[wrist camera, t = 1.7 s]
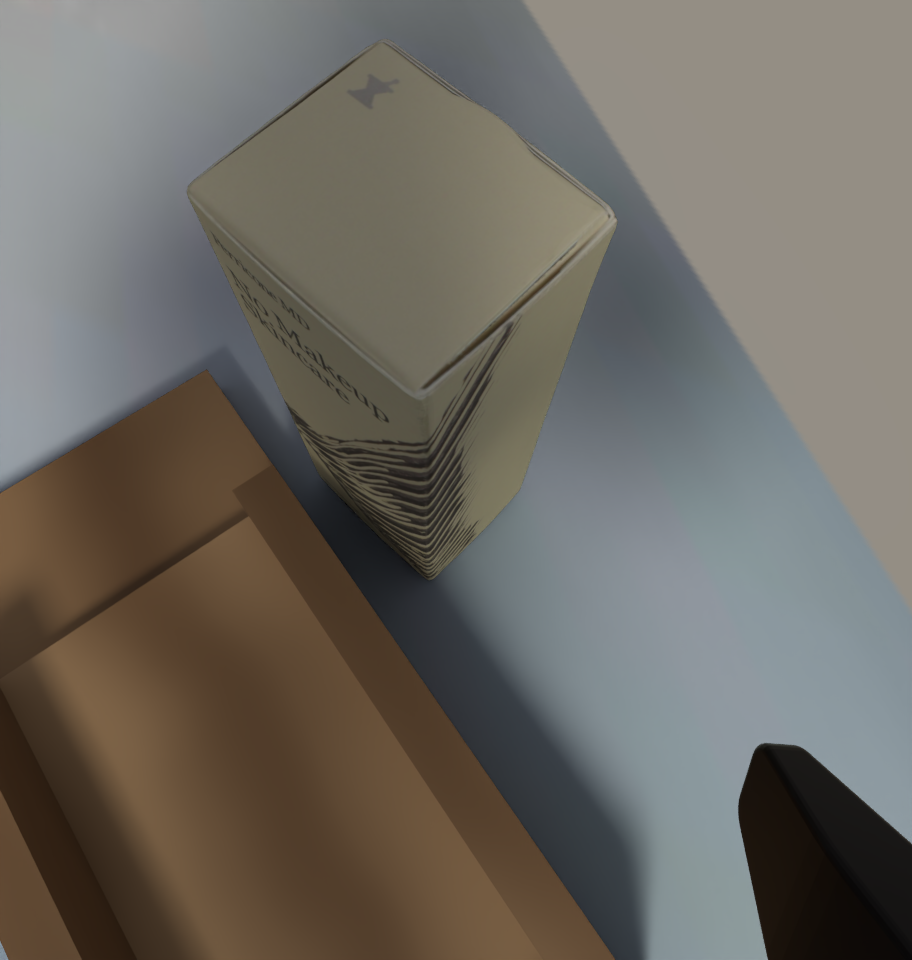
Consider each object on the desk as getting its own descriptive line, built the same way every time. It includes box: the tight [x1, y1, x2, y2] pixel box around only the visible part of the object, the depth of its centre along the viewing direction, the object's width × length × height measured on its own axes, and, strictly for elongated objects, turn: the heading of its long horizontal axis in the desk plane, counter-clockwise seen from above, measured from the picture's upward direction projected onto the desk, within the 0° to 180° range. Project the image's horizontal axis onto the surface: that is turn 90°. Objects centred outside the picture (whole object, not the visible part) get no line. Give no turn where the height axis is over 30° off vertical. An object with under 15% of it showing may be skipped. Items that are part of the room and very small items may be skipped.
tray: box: [0, 370, 615, 960], centre depth 18 cm, size 10×21×4 cm, turn 36°
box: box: [187, 39, 618, 580], centre depth 16 cm, size 5×4×13 cm
